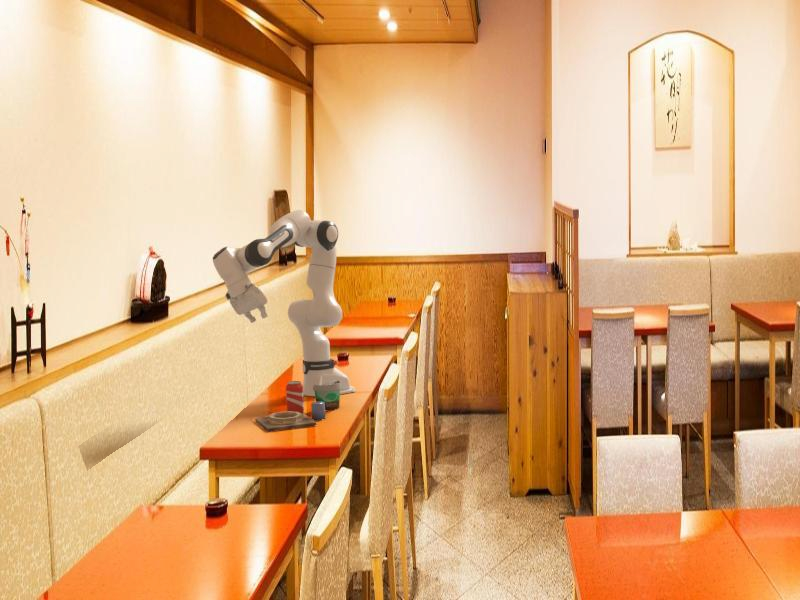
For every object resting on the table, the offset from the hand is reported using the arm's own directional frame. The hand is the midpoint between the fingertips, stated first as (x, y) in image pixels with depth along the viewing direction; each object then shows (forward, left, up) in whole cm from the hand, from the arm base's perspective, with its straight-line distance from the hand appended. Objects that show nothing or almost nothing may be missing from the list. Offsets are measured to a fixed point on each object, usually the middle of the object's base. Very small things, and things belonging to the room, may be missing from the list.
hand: (259, 319), depth 379 cm
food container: (-25, +6, -37) cm, 45 cm away
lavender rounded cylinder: (-16, +19, -36) cm, 44 cm away
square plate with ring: (-3, +20, -36) cm, 41 cm away
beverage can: (-11, +6, -37) cm, 38 cm away
